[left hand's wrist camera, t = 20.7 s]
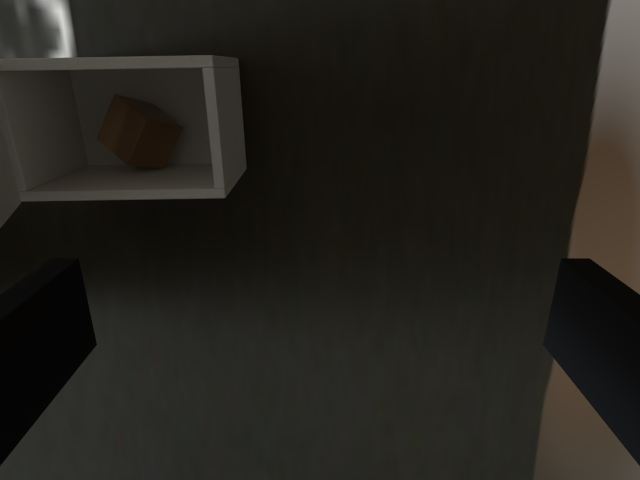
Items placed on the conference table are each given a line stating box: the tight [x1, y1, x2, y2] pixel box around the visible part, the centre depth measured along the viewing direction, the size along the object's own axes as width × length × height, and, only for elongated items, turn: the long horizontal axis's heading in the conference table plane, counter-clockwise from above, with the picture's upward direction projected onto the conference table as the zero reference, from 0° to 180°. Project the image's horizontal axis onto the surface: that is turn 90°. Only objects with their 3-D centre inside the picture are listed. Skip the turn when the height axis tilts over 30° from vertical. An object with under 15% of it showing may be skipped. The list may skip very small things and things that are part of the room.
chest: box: [0, 55, 247, 201], centre depth 36 cm, size 15×10×10 cm, turn 91°
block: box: [97, 94, 183, 168], centre depth 38 cm, size 4×4×4 cm
